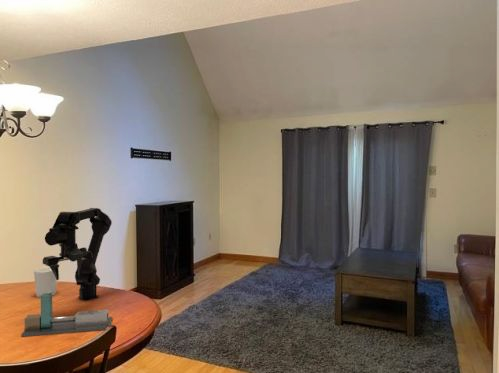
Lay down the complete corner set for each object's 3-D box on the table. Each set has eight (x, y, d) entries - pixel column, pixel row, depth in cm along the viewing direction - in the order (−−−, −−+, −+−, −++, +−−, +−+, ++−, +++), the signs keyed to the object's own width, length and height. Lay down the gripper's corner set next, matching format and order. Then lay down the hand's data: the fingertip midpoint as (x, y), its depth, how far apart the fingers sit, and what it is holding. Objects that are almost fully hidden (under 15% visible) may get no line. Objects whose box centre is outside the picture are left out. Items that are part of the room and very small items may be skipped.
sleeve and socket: (112, 319, 147) (112, 306, 147) (108, 329, 138) (108, 315, 137) (31, 325, 141) (31, 312, 141) (21, 336, 131) (21, 322, 131)
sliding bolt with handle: (84, 321, 142) (83, 290, 141) (82, 324, 139) (81, 293, 138) (31, 325, 138) (31, 294, 138) (29, 328, 135) (28, 296, 135)
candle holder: (62, 292, 180) (62, 267, 180) (45, 298, 171) (44, 272, 170) (46, 290, 183) (46, 266, 183) (29, 296, 174) (28, 271, 173)
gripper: (54, 246, 146) (55, 286, 147) (98, 240, 161) (99, 276, 161) (41, 243, 153) (42, 281, 153) (85, 237, 168) (85, 272, 168)
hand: (68, 277), depth 159 cm, fingers open, 9 cm apart
